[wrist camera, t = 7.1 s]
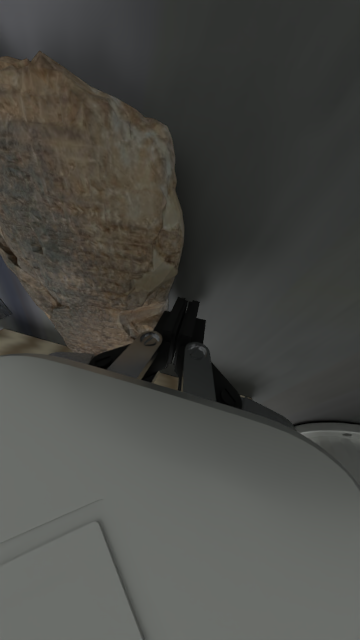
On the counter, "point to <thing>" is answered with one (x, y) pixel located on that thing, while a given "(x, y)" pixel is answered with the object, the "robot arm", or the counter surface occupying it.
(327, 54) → the counter surface
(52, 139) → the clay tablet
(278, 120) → the counter surface
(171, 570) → the robot arm
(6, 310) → the bookend
